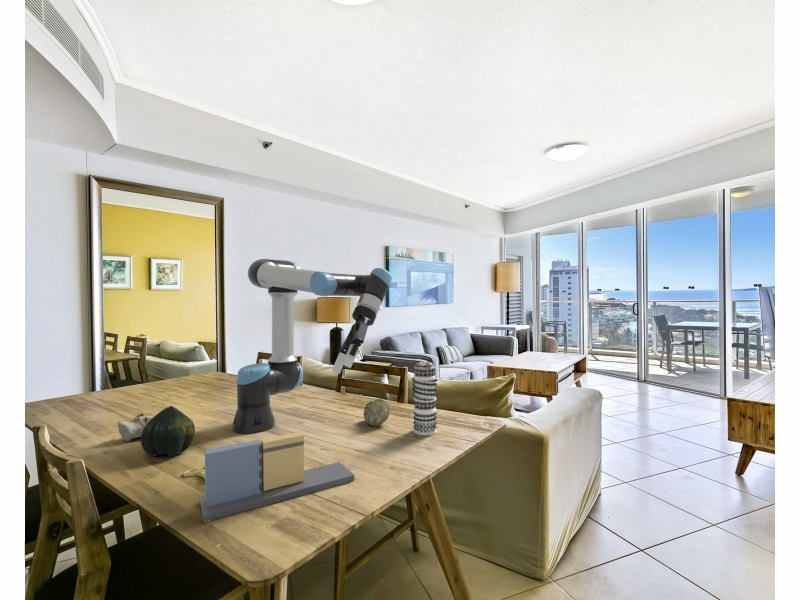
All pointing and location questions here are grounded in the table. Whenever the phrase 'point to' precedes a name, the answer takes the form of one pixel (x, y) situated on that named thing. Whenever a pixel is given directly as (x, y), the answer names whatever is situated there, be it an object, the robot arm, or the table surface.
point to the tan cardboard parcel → (282, 460)
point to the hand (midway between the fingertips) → (340, 369)
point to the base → (281, 491)
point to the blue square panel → (233, 472)
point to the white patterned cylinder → (424, 398)
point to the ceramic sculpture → (133, 427)
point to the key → (201, 472)
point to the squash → (168, 433)
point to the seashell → (376, 412)
